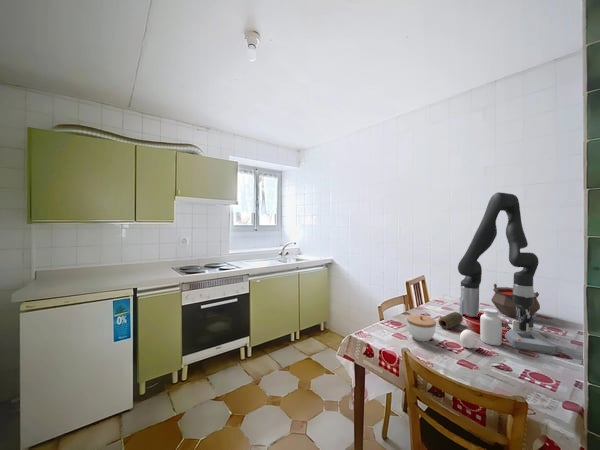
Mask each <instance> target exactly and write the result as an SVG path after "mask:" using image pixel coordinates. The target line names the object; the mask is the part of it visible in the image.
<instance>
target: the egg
mask: <svg viewBox="0 0 600 450" xmlns="http://www.w3.org/2000/svg"><path fill="white" fill-rule="evenodd" d="M459 340H460V343H461V344H462V345H463V346H464V347H465V348H467V349H473V348H475V347H476V346H477V344H478V338H477V336H476V334H475V333H474V332H473V331H472V330H470V329H464V330H463V331H462V332H460V335H459Z"/></svg>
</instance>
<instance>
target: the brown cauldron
mask: <svg viewBox="0 0 600 450" xmlns="http://www.w3.org/2000/svg"><path fill="white" fill-rule="evenodd" d="M492 290H493V291H494V294H493V296H492V297H491V299H490V300H491V302H492V304H493V305H494V306H495V307H496V310H497V311H498V312H499V313H500V314H503V315H505V316H507V317H511V318H512V317H513V318H516V312H515V308H514V307H517V304H515V303H513V287H508V286H503V287H502V286H498V284H497V283H494V284H493V289H492ZM539 294H540V293H539V292H538V291H536V292H534V305H533V306H530V307H529V310H530V313H529V315H532V316H534V315H535V314H536V313H537V312H538V311H540V309H541V305H540V303H539V301H538V297H539Z"/></svg>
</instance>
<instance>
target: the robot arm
mask: <svg viewBox="0 0 600 450" xmlns="http://www.w3.org/2000/svg"><path fill="white" fill-rule="evenodd" d="M501 211H503V212H505V213H506V215H507V225H506V227H505V236H506V239H507V244H508V247H509V249H508V261H509V263H510V265H512V267H514V268H522V269H521V270H519V271H515V272H514V273H513V284H512V288H513V303H515V304H517V307H514V308H515V312H516V316H517V319H518V321H519V329H520V330H521V331H526V324H529V323H530V321H531V319H532V317H533V315H529V313H530V310H529V307H530V306H533V305H534V293H535V290H534V289H535V288H534V276H535V274H536V271H537V269H538V265H539V263H540V262H539V258H538V256H537V255H536V253H533V252H521V249H525V248H527V247H528V245H529V242H528V240H527V237H526V234H525V231H524V227H523V224H522V223H523V222H522V216H521V215H522V214H521V208H520V201H519V198H518V196H517V195H515V194H513V193H508V192H507V193H506V192H496V193H494V194H492V196H491V197H490V199H489V201H488V203H487V207H486V208H485V212H484V214H483V217H482V219H481V221H480V223H479V225H478V228H477V229H476V231H475V233H474V235H473V238H472V239H471V242H470V243H469V246H468V247H467V249H466V251H465V253H464V255H463V256H462V258H461V259H460V261H459V262H458V264H457V270H458V273H459V274H460V276H464V278H463V279H462V280H461V281H460V297H459V313H460V314H461V315H463V314H466V315H469V316H477V315H478V314H479V315H480V285H481V283H482V276H483V275H482V273H483V272H482V271H483V270H482V265H481V263H480V262H479V261H478V259H479V258H480V257H481V256H482V255H483V254H484V253H485V252H486V251H488V249H489V248H490V247H491V246H492V244H493V243H494V241H495V239H496V237H497V235H498V234H497V233H498V229H497V218H498V216H499V213H500V212H501Z"/></svg>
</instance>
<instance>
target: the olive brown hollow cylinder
mask: <svg viewBox="0 0 600 450" xmlns="http://www.w3.org/2000/svg"><path fill="white" fill-rule="evenodd" d="M463 317H464V316H462V315H461V314H460V312H456V311H453V312H450V313H448V314H446V315H443V316H442V317H441V318H440V319H438V325H439V326H440V328H443V329H452V328H454V327H457V326H458V325H460V324H461V323H462V322H463V319H464V318H463Z"/></svg>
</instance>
